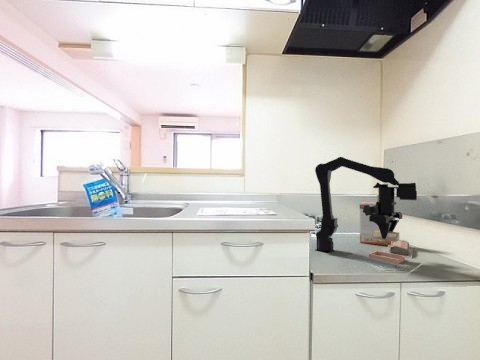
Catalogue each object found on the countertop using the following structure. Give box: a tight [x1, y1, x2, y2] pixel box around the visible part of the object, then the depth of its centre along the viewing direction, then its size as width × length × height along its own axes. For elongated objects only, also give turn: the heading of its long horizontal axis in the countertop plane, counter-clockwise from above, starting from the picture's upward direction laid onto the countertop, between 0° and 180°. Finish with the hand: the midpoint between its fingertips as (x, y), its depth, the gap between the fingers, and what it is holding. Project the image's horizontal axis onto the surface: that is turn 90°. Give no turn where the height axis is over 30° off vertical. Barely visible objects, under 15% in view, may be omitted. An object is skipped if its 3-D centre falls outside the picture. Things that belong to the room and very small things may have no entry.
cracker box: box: [359, 201, 392, 247], centre depth 135 cm, size 14×6×21 cm, turn 58°
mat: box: [344, 250, 398, 269], centre depth 108 cm, size 18×15×1 cm
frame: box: [369, 250, 406, 265], centre depth 107 cm, size 11×8×2 cm
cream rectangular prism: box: [374, 230, 400, 242], centre depth 107 cm, size 4×8×3 cm, turn 41°
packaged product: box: [384, 239, 413, 259], centre depth 118 cm, size 18×5×10 cm
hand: (386, 237), depth 107 cm, fingers closed on cream rectangular prism, 4 cm apart
